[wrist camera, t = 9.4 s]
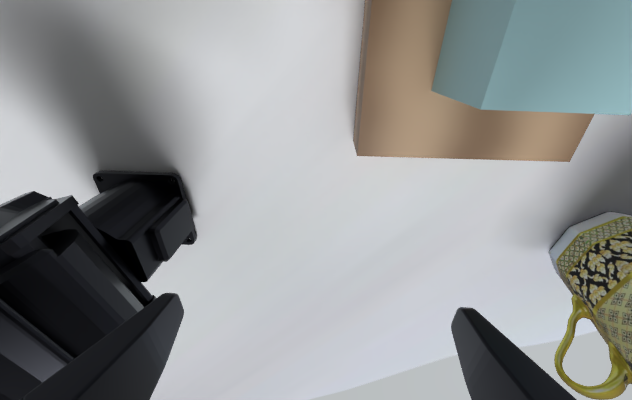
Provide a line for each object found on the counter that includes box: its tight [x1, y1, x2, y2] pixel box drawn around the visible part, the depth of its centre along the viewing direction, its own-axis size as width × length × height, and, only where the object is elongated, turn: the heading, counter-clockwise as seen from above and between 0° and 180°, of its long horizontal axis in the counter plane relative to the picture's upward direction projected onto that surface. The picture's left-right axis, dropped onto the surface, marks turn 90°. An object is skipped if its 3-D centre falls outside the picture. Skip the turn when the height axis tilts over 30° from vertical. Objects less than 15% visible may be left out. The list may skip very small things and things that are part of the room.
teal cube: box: [431, 0, 632, 115], centre depth 10 cm, size 5×5×5 cm
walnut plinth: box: [353, 0, 594, 162], centre depth 13 cm, size 12×12×3 cm
